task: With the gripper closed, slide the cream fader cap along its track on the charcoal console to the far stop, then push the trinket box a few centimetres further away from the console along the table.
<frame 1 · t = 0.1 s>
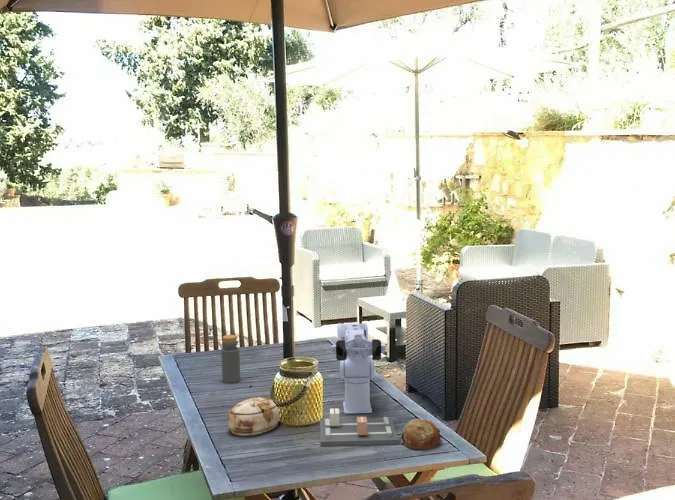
hand: (359, 355, 202), 22 cm above the table, tool horizontal, fingers open, 7 cm apart
bottle: (231, 381, 254), on the table
trinket box: (254, 428, 212), on the table
fader 2: (362, 425, 201), point 4 cm above the table, slide at 7.0 cm
console: (357, 433, 205), on the table
fader 1: (334, 417, 208), point 4 cm above the table, slide at 0.0 cm
bread roll: (421, 443, 199), on the table
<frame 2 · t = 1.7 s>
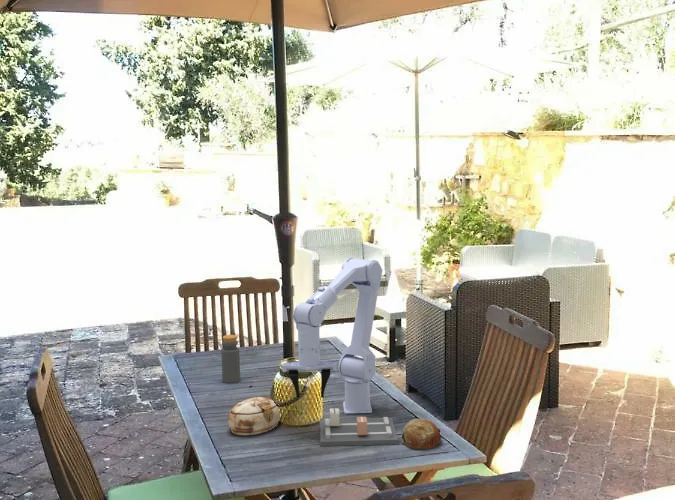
hand: (310, 396, 207), 9 cm above the table, tool pointing down, fingers open, 6 cm apart
nothing on the table moved.
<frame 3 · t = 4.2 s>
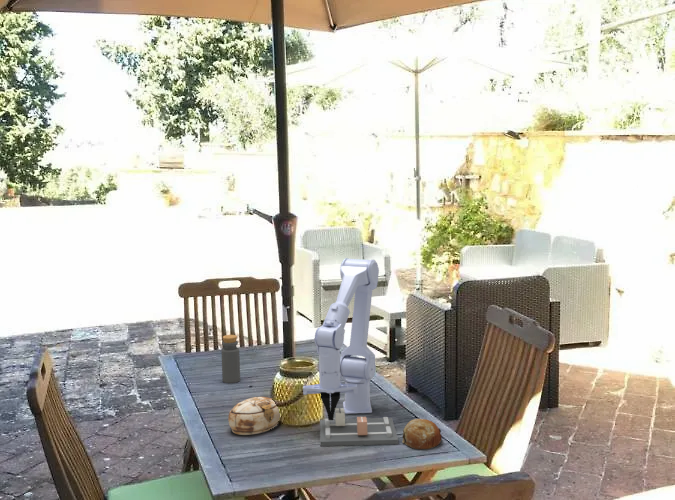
hand: (330, 418, 208), 3 cm above the table, tool pointing down, fingers closed
fader 1: (340, 416, 208), point 4 cm above the table, slide at 1.5 cm, touching gripper
everything else where it was.
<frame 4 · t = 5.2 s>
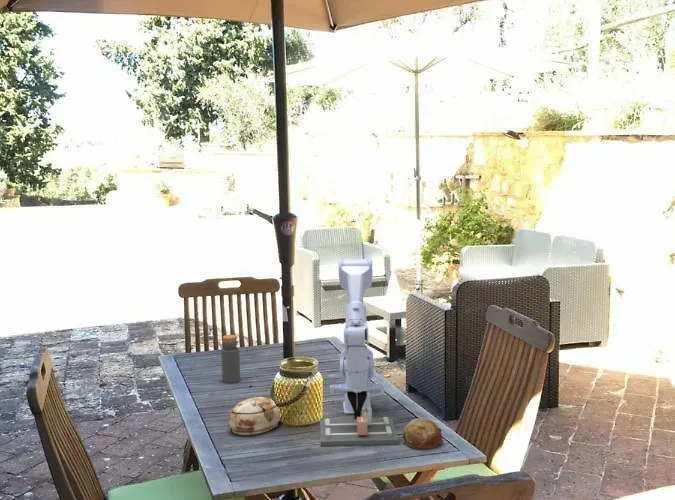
hand: (357, 418, 208), 3 cm above the table, tool pointing down, fingers closed
fader 1: (366, 416, 208), point 4 cm above the table, slide at 8.7 cm, touching gripper
everything else where it was.
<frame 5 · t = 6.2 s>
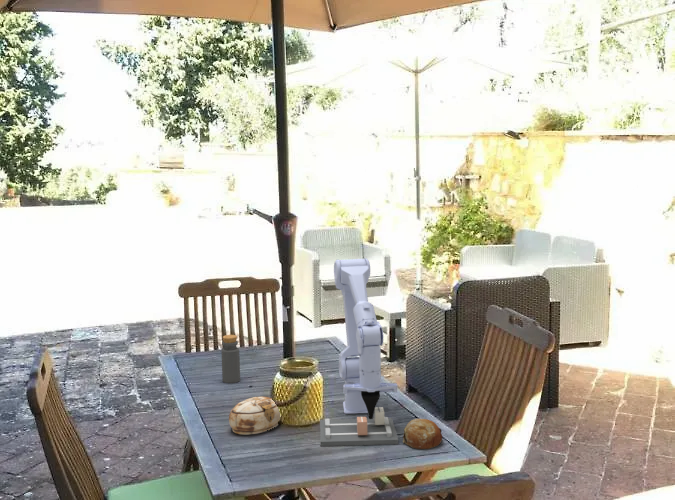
hand: (370, 417, 209), 3 cm above the table, tool pointing down, fingers closed
fader 1: (379, 415, 209), point 4 cm above the table, slide at 12.1 cm, touching gripper
everything else where it was.
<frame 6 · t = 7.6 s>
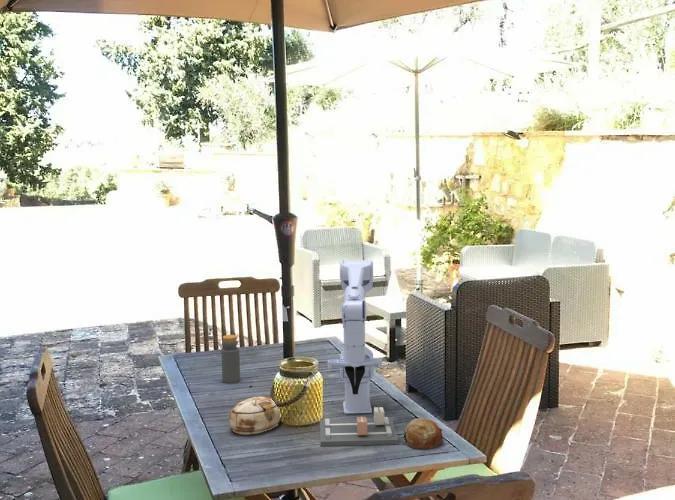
hand: (355, 393, 208), 10 cm above the table, tool pointing down, fingers closed
fader 1: (379, 415, 209), point 4 cm above the table, slide at 12.0 cm
everything else where it was.
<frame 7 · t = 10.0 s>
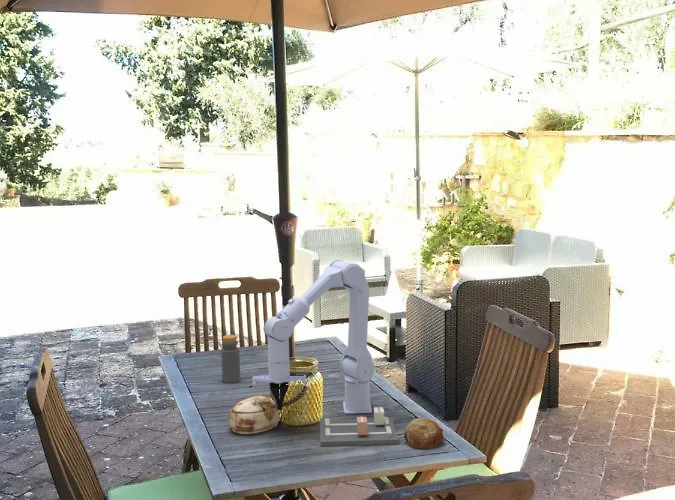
hand: (280, 409, 211), 5 cm above the table, tool pointing down, fingers closed
trinket box: (255, 426, 213), on the table, touching gripper
everything else where it was.
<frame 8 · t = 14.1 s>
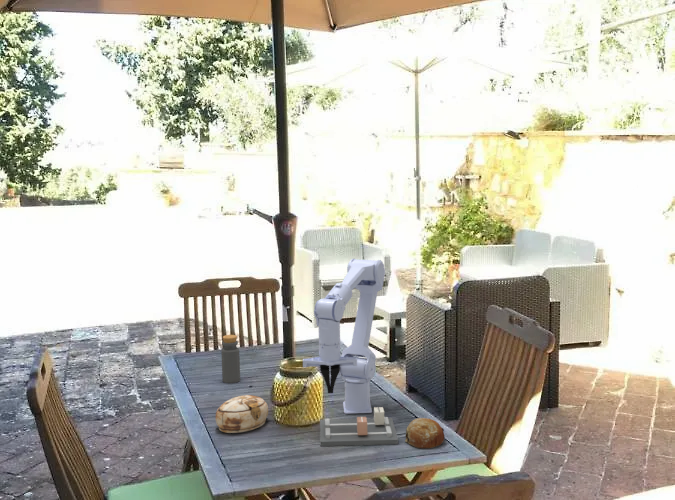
hand: (330, 391, 208), 10 cm above the table, tool pointing down, fingers closed
trinket box: (242, 425, 214), on the table
at the end: fader 1 slide at 12.0 cm; trinket box inside the target area (4.5 cm from its centre), on the table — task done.
